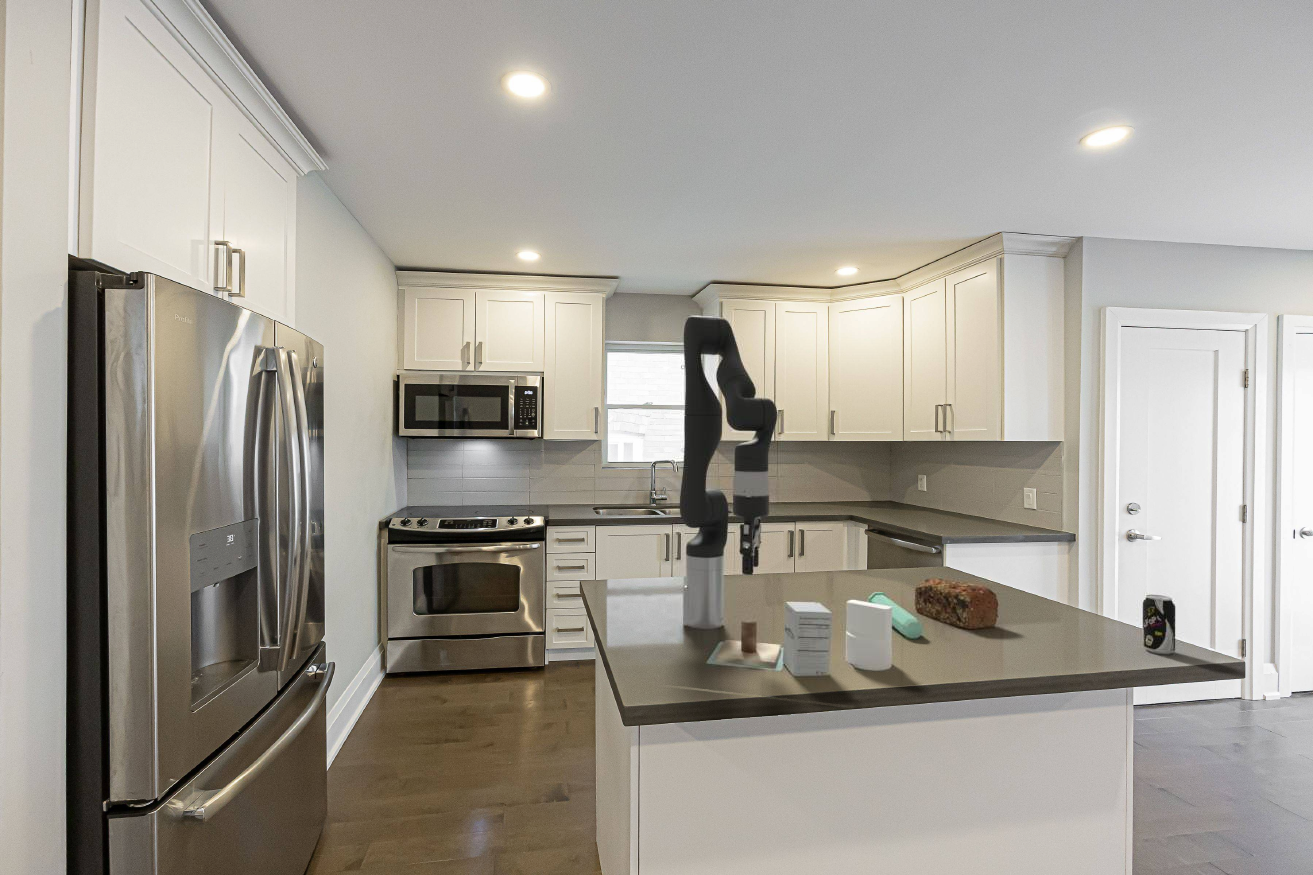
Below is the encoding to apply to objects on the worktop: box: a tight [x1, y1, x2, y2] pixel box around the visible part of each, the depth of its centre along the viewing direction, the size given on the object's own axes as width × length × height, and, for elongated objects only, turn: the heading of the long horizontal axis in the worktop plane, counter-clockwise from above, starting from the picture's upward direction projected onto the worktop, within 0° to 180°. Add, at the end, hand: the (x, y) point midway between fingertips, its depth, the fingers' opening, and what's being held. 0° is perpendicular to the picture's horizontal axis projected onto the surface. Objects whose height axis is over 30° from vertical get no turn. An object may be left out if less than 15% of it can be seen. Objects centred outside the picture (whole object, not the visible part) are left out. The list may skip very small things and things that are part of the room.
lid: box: [715, 619, 782, 668], centre depth 141 cm, size 12×12×7 cm
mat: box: [706, 641, 785, 672], centre depth 141 cm, size 15×15×1 cm
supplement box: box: [783, 601, 833, 677], centre depth 133 cm, size 7×7×13 cm
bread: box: [914, 577, 1000, 630], centre depth 173 cm, size 19×11×10 cm, turn 18°
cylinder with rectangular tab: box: [845, 599, 893, 671], centre depth 138 cm, size 9×9×12 cm
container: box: [867, 591, 923, 639], centre depth 167 cm, size 6×6×25 cm
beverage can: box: [1141, 594, 1176, 655], centre depth 147 cm, size 6×6×12 cm
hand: (750, 570), depth 141 cm, fingers open, 8 cm apart
